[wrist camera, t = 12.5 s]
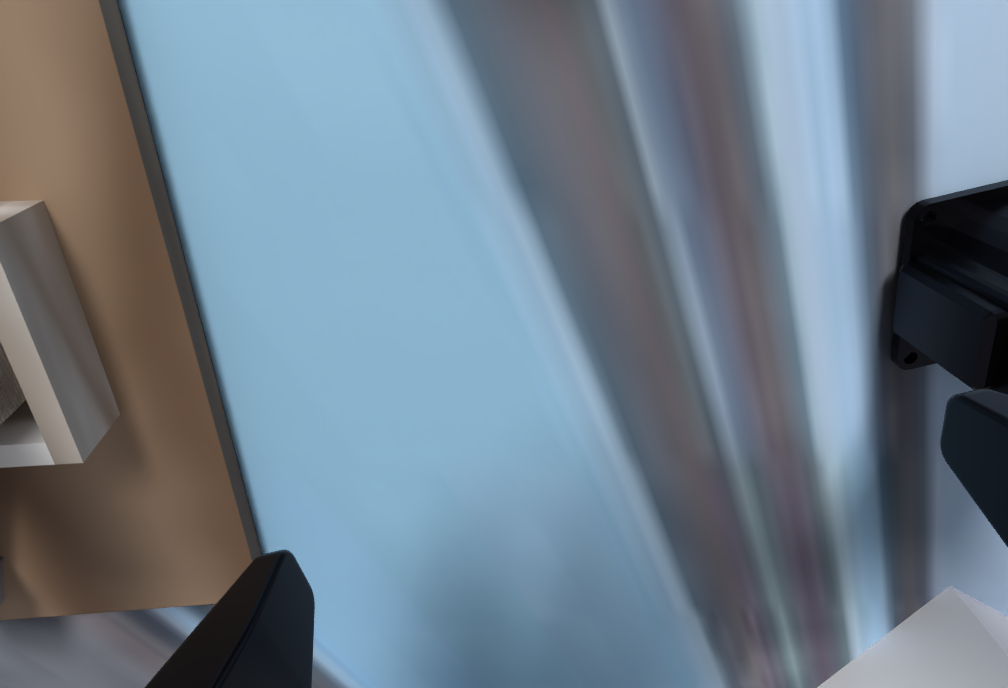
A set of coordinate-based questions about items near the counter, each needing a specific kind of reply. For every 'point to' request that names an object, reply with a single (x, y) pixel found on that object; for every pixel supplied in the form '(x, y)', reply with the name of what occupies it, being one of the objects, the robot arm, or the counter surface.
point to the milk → (935, 649)
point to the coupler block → (8, 388)
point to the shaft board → (101, 342)
